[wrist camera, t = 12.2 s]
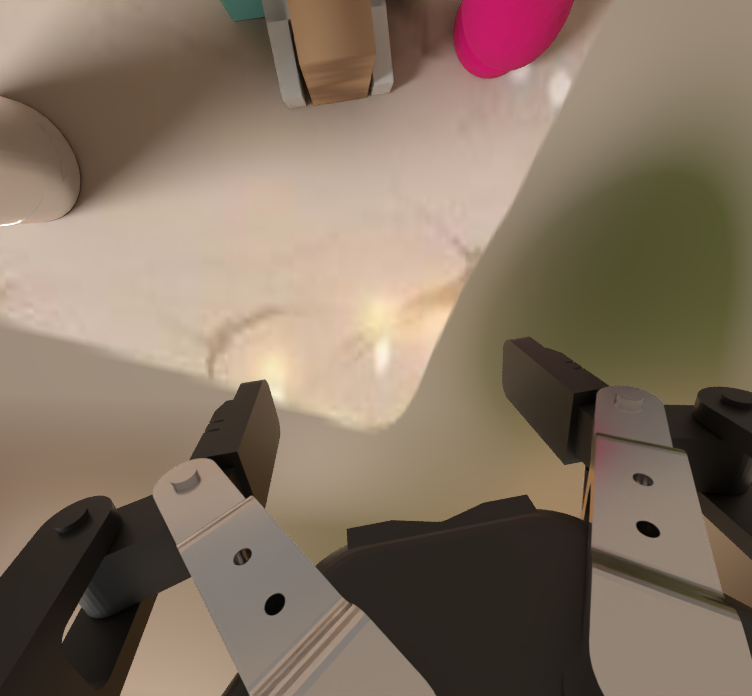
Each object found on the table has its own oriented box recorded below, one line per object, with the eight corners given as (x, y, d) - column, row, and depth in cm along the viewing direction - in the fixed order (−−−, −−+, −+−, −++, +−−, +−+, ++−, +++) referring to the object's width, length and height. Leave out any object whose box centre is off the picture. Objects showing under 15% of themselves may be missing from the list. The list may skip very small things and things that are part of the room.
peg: (313, 105, 29) (299, 64, 20) (301, 38, 28) (279, -41, 19) (366, 97, 30) (376, 52, 20) (357, 29, 28) (363, -54, 19)
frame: (288, 108, 29) (282, 98, 26) (269, 15, 27) (260, -6, 24) (389, 92, 29) (393, 82, 27) (379, -1, 27) (383, -24, 24)
